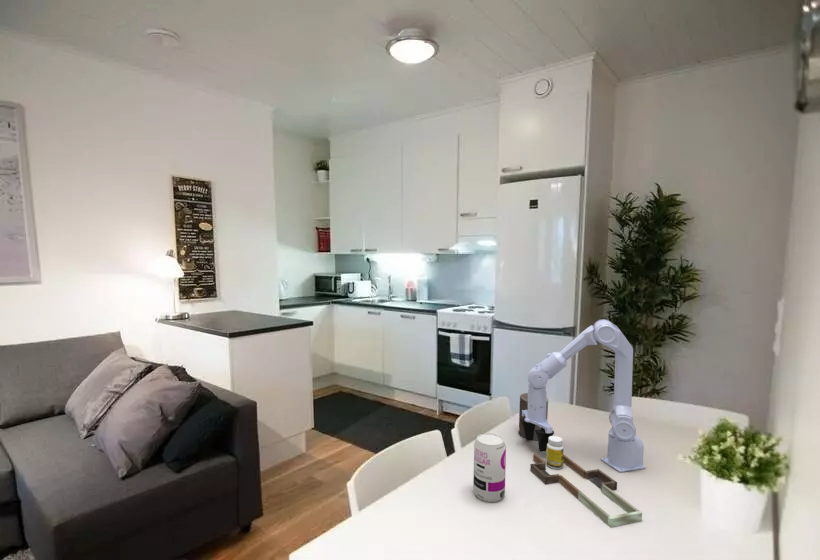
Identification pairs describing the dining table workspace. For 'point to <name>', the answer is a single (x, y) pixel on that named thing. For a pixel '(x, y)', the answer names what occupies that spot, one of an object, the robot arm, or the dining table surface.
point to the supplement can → (489, 467)
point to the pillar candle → (523, 407)
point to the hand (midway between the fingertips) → (535, 445)
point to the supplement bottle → (555, 452)
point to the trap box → (600, 481)
